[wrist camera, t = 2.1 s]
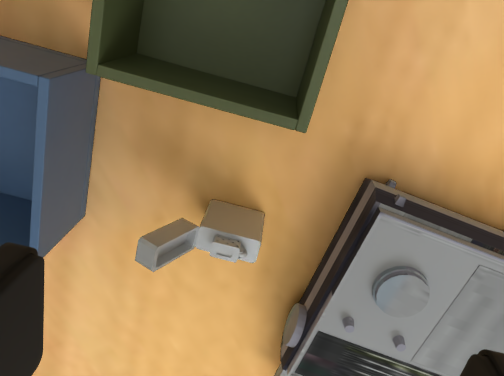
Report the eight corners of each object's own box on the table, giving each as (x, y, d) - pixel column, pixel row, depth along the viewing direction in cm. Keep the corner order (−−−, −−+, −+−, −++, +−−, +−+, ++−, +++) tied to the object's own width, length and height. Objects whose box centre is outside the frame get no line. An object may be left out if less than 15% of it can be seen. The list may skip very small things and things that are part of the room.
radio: (737, 337, 26) (538, 517, 34) (667, 286, 31) (507, 454, 39) (376, 196, 25) (252, 419, 32) (361, 165, 30) (257, 366, 37)
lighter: (265, 212, 32) (257, 274, 24) (259, 232, 32) (250, 298, 25) (171, 188, 31) (135, 242, 24) (167, 208, 32) (131, 267, 25)
